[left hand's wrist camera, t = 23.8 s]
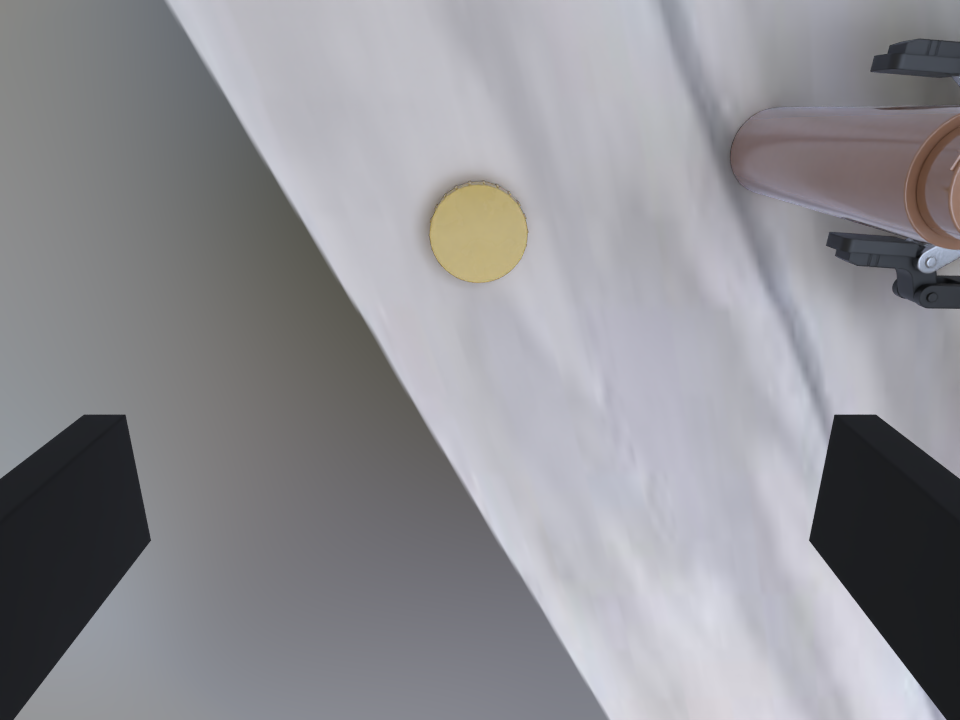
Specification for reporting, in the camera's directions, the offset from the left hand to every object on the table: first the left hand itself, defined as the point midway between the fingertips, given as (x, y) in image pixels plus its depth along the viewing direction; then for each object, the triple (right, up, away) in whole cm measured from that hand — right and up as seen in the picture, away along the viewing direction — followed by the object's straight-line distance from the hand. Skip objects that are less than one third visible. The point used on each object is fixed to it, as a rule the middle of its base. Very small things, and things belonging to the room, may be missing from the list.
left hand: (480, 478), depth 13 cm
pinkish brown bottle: (+17, +14, +26) cm, 35 cm away
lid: (0, +10, +26) cm, 28 cm away
